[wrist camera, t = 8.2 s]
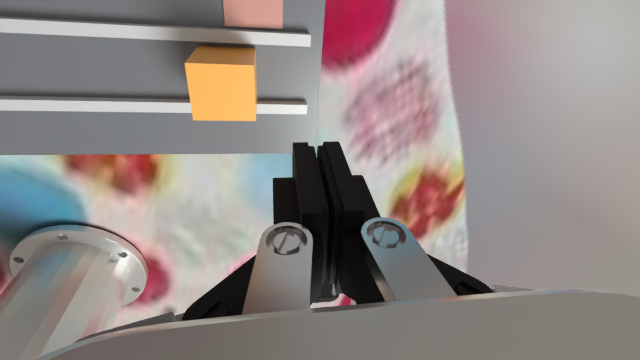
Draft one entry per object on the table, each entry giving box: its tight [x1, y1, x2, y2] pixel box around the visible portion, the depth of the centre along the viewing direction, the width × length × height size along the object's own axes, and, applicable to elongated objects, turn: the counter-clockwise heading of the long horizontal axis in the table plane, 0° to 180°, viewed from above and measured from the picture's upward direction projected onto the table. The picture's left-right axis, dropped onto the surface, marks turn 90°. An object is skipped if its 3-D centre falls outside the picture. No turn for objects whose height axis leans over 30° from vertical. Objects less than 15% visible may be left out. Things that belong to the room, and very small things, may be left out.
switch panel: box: [0, 0, 325, 155], centre depth 24 cm, size 14×30×3 cm, turn 86°
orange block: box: [185, 46, 257, 121], centre depth 22 cm, size 4×4×5 cm
